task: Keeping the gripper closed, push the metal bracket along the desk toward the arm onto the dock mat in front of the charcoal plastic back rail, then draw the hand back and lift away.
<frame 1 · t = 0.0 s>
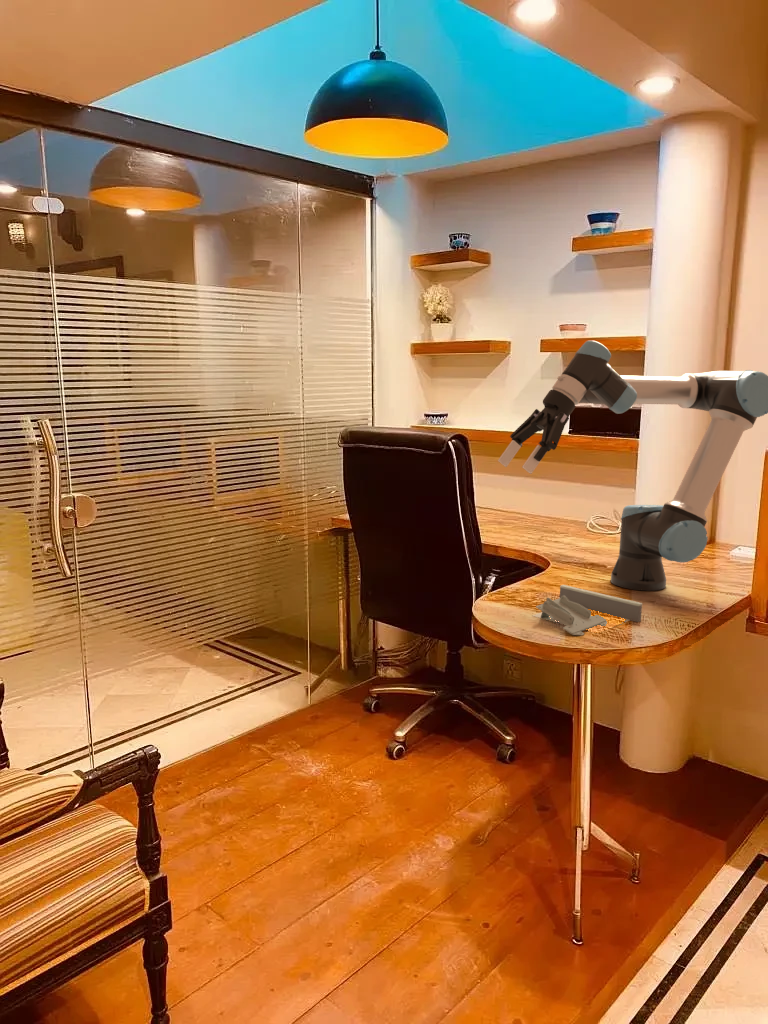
hand: (513, 467, 192), 36 cm above the table, tool tilted 35°, fingers open, 13 cm apart
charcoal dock: (583, 616, 192), on the table
metal bracket: (567, 623, 187), on the table, touching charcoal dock
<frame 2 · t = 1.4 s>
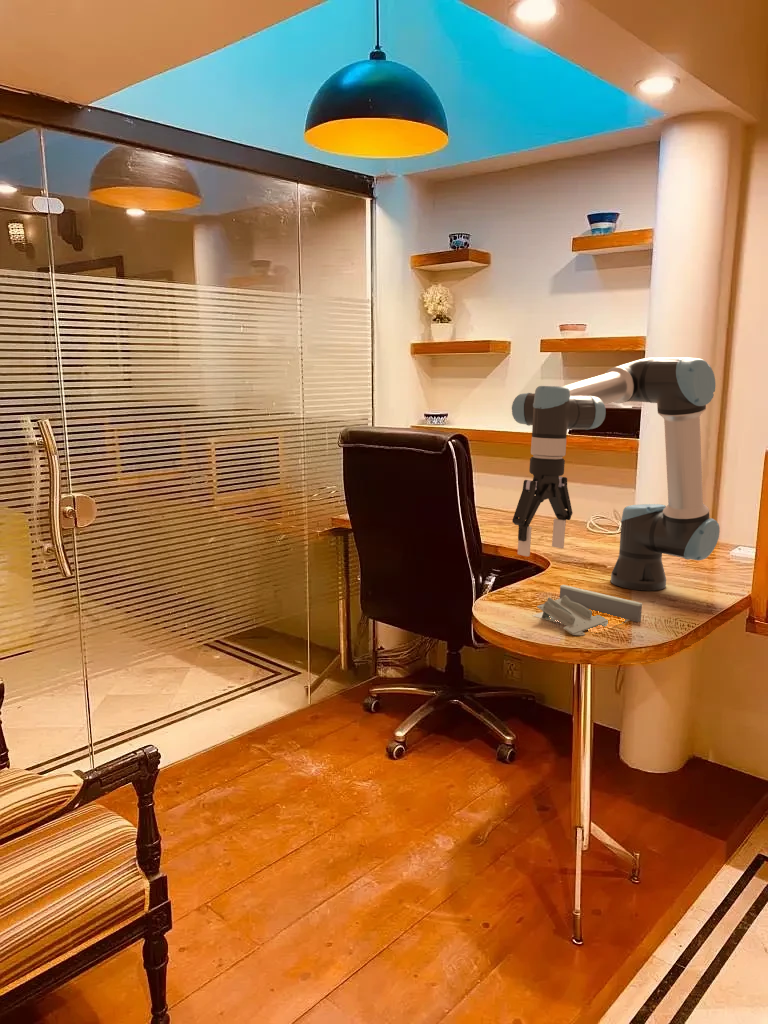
hand: (541, 551, 175), 19 cm above the table, tool pointing down, fingers open, 13 cm apart
nothing on the table moved.
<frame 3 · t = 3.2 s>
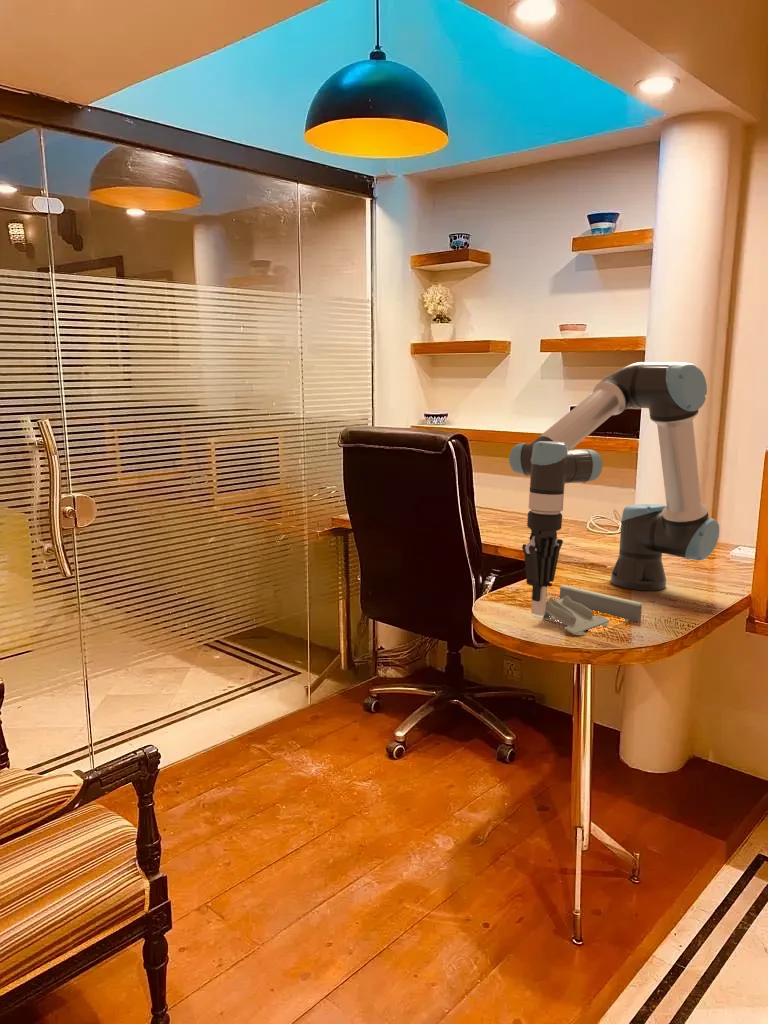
hand: (538, 613, 177), 5 cm above the table, tool pointing down, fingers closed
nothing on the table moved.
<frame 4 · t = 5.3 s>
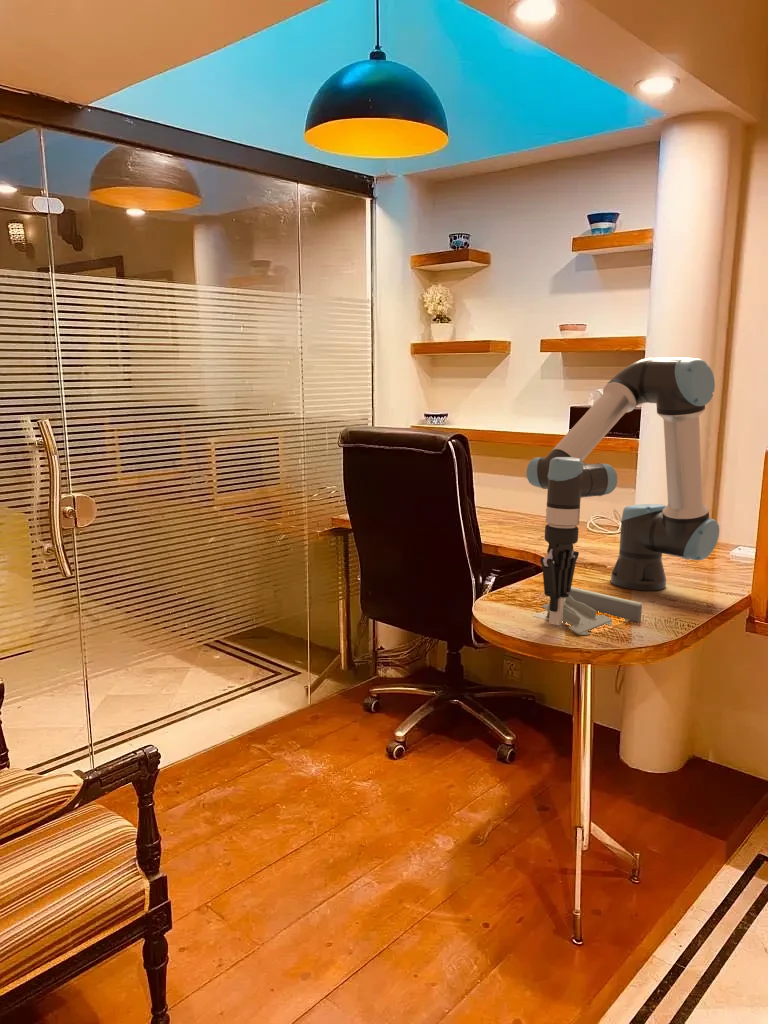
hand: (555, 623, 183), 1 cm above the table, tool pointing down, fingers closed
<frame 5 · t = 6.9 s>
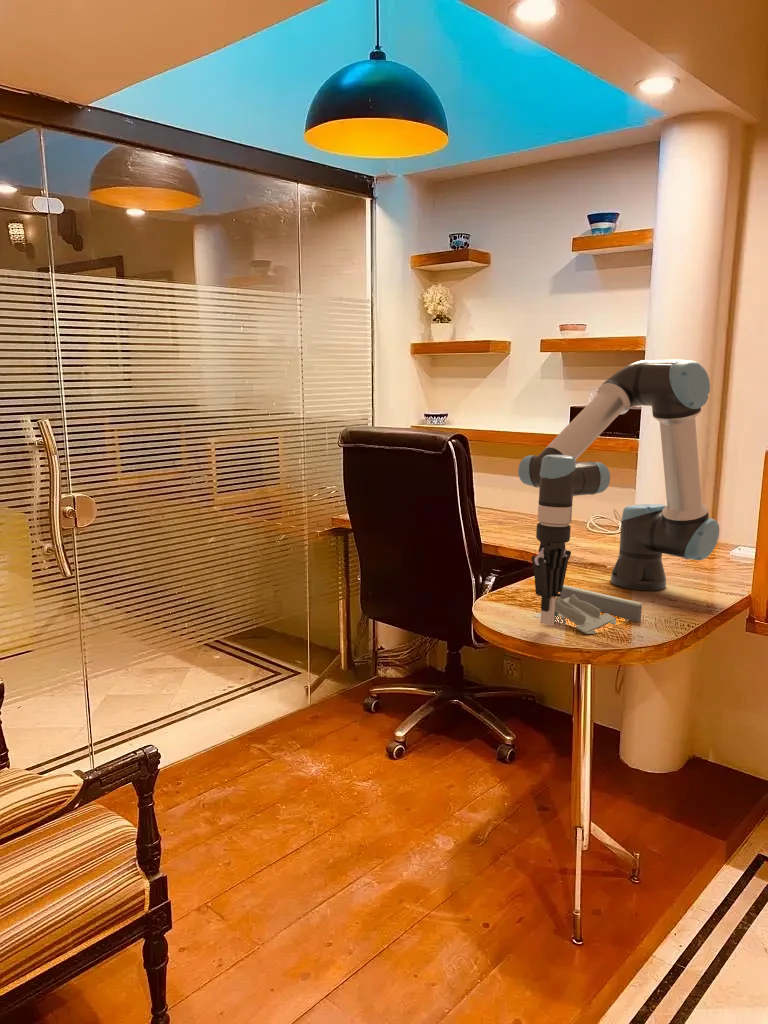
hand: (547, 623, 181), 2 cm above the table, tool pointing down, fingers closed
metal bracket: (577, 622, 188), on the table, touching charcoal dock
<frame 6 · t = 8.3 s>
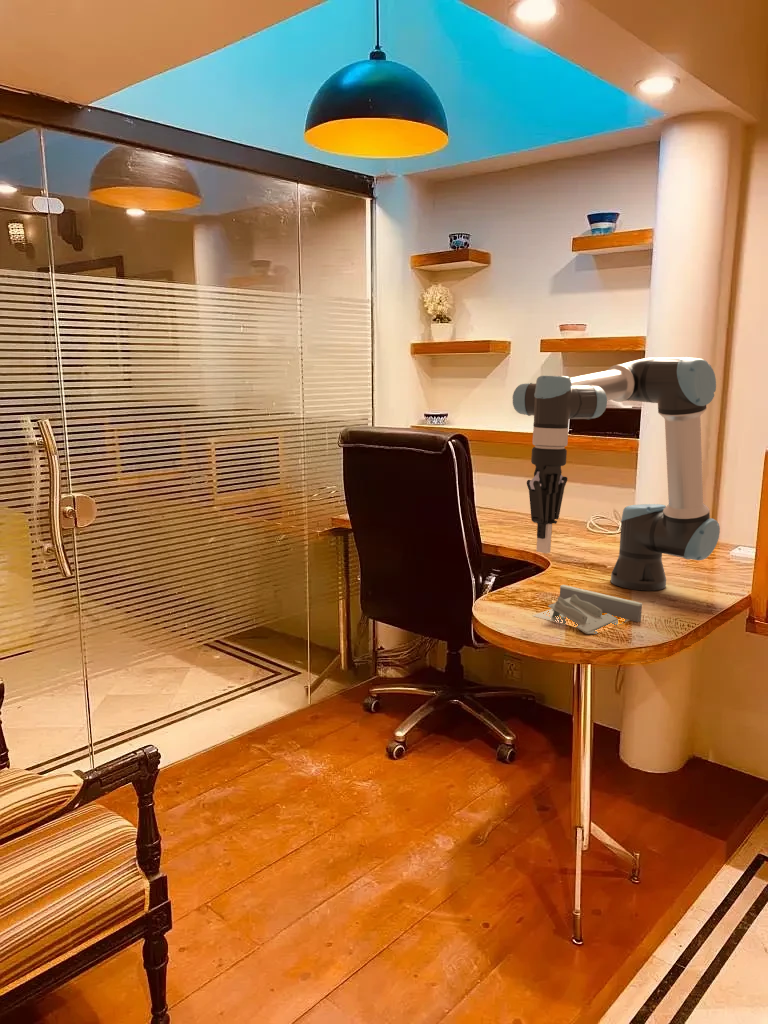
hand: (543, 551, 175), 19 cm above the table, tool pointing down, fingers closed
nothing on the table moved.
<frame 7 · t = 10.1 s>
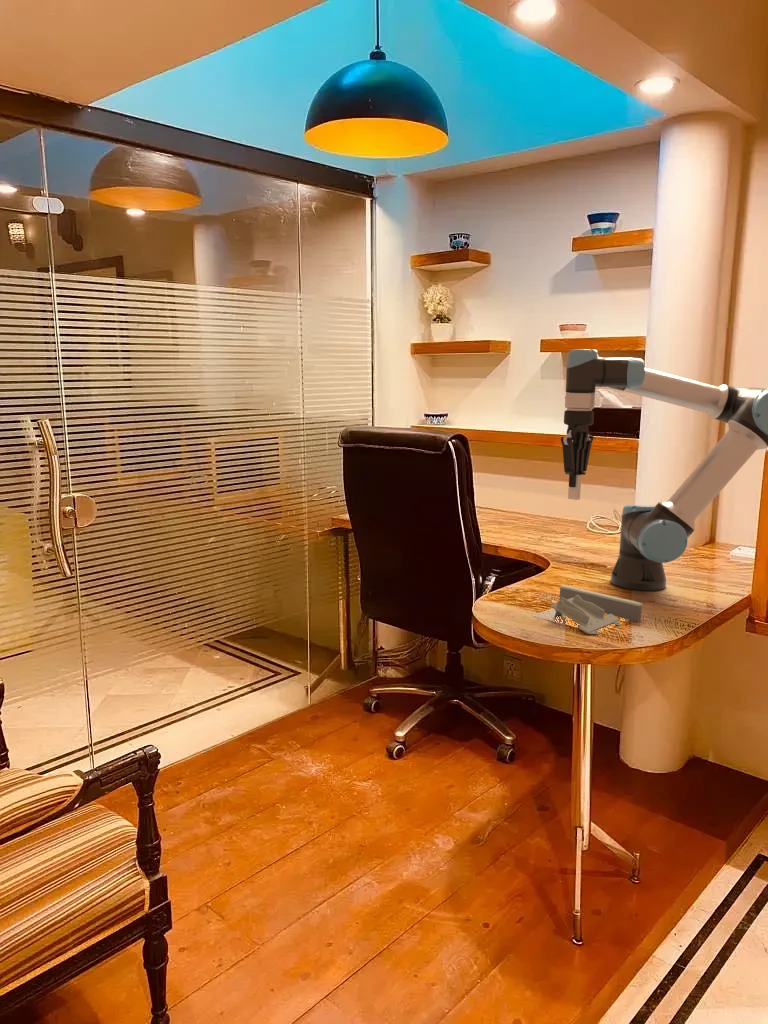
hand: (573, 498, 208), 26 cm above the table, tool pointing down, fingers closed
nothing on the table moved.
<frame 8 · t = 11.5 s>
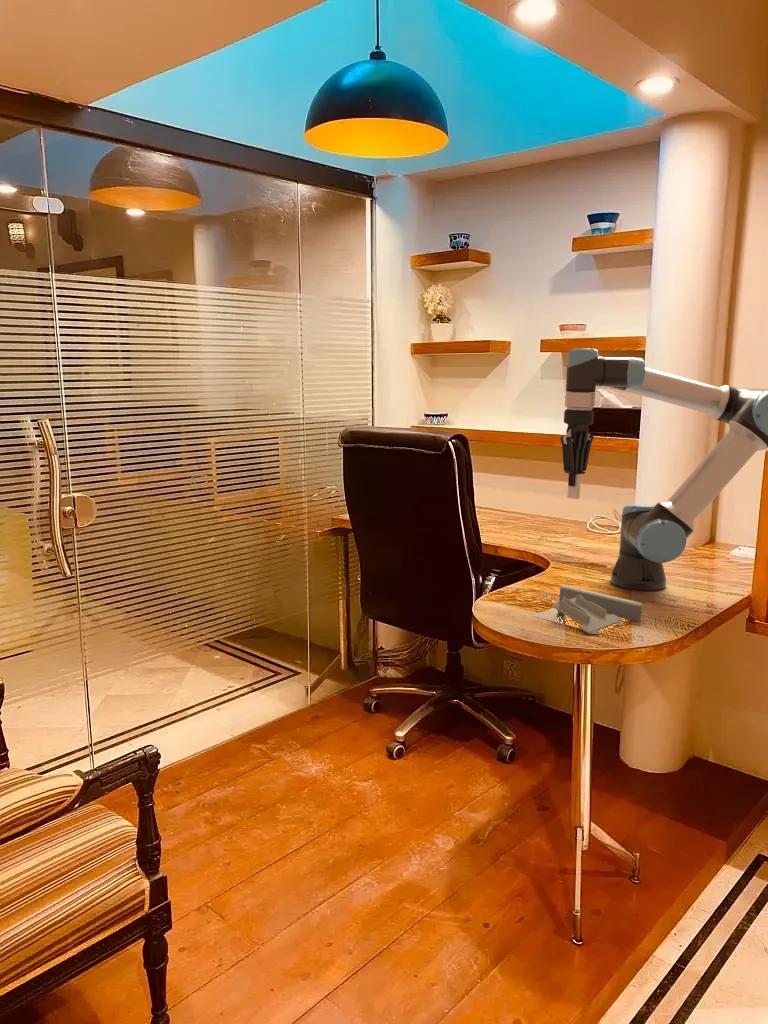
hand: (573, 498, 208), 26 cm above the table, tool pointing down, fingers closed
at the end: metal bracket inside the target area (4.1 cm from its centre), on the table; metal bracket tilted 0°; the gripper is holding nothing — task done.
